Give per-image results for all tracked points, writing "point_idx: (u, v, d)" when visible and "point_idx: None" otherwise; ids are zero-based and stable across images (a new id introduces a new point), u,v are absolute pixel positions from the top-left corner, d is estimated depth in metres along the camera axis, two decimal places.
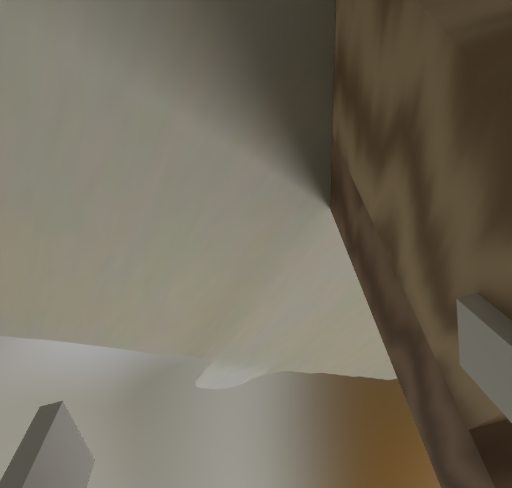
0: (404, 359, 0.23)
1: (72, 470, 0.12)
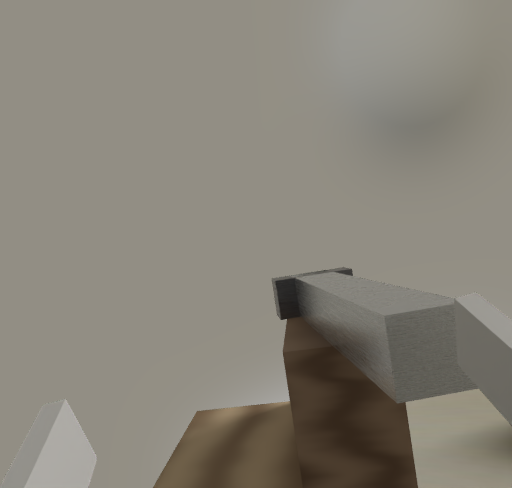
0: None
1: (75, 468, 0.12)
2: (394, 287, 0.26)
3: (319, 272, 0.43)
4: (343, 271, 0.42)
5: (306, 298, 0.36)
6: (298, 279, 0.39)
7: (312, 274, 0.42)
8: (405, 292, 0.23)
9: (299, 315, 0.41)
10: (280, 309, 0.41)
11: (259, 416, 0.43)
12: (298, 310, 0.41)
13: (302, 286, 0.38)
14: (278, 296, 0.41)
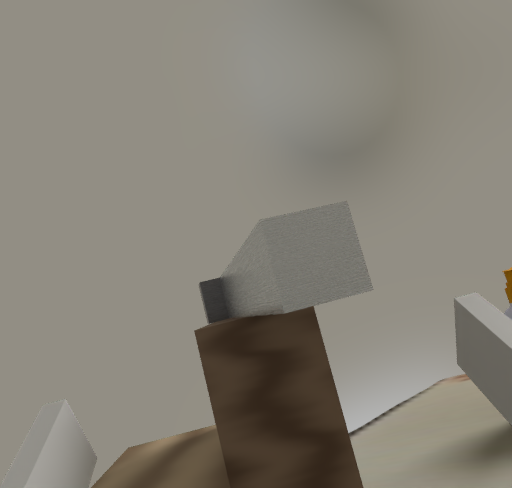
0: None
1: (75, 468, 0.12)
2: None
3: None
4: None
5: (228, 289, 0.34)
6: (221, 275, 0.37)
7: None
8: None
9: (228, 317, 0.39)
10: (207, 312, 0.38)
11: (196, 438, 0.38)
12: (227, 311, 0.39)
13: (224, 279, 0.36)
14: (204, 298, 0.39)
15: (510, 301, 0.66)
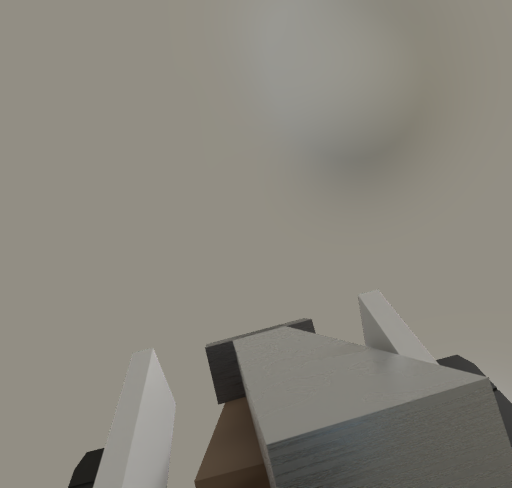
0: None
1: (164, 407, 0.14)
2: (345, 346, 0.14)
3: (269, 329, 0.31)
4: (300, 324, 0.30)
5: (240, 371, 0.24)
6: (233, 342, 0.27)
7: (258, 333, 0.30)
8: (357, 357, 0.12)
9: (244, 394, 0.29)
10: (216, 389, 0.29)
11: None
12: (242, 387, 0.29)
13: None
14: (211, 370, 0.29)
15: None
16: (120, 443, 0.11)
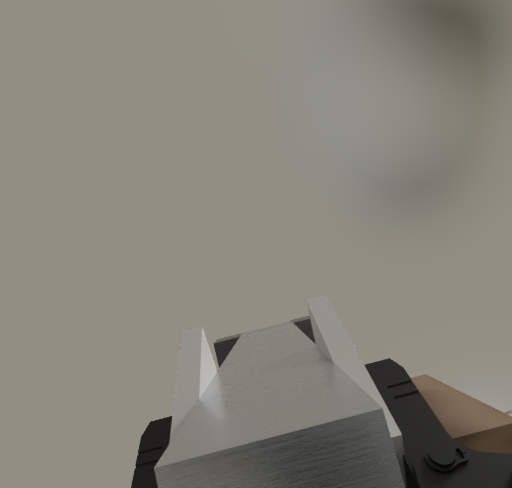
0: None
1: None
2: (313, 354, 0.14)
3: (278, 325, 0.31)
4: (308, 321, 0.30)
5: None
6: (238, 339, 0.28)
7: (266, 329, 0.30)
8: (309, 369, 0.12)
9: None
10: None
11: None
12: None
13: None
14: (220, 365, 0.29)
15: None
16: (187, 410, 0.11)
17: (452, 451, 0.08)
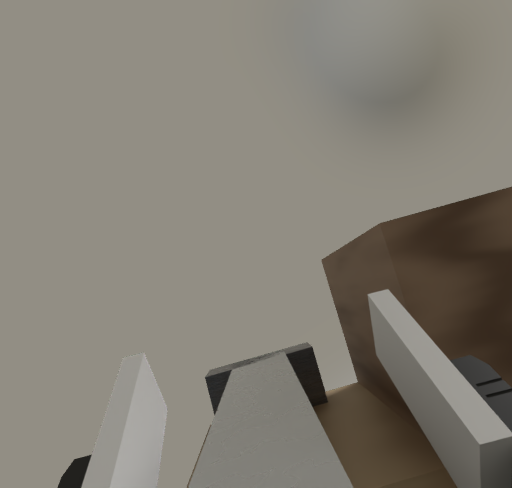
0: None
1: (155, 413, 0.14)
2: (306, 419, 0.14)
3: (270, 355, 0.31)
4: (300, 351, 0.29)
5: None
6: (230, 374, 0.27)
7: (258, 361, 0.30)
8: (303, 448, 0.11)
9: None
10: None
11: None
12: None
13: None
14: (212, 399, 0.29)
15: None
16: (107, 450, 0.11)
17: None
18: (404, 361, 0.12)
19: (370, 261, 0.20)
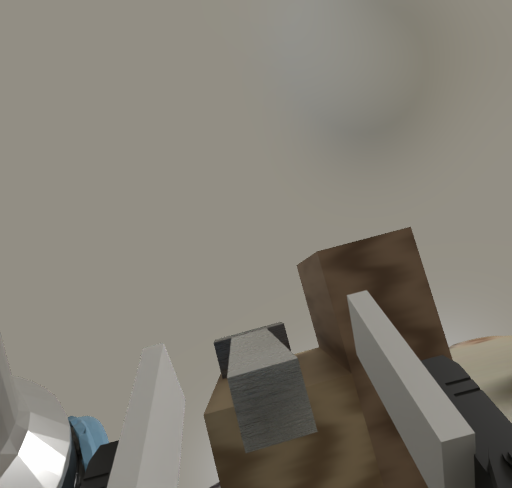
0: None
1: (175, 402, 0.14)
2: (277, 345, 0.29)
3: (256, 329, 0.46)
4: (276, 326, 0.45)
5: None
6: (231, 339, 0.43)
7: (248, 332, 0.45)
8: (275, 350, 0.27)
9: None
10: (221, 369, 0.44)
11: None
12: None
13: None
14: (218, 357, 0.44)
15: None
16: (134, 435, 0.11)
17: None
18: (378, 361, 0.12)
19: (316, 270, 0.36)
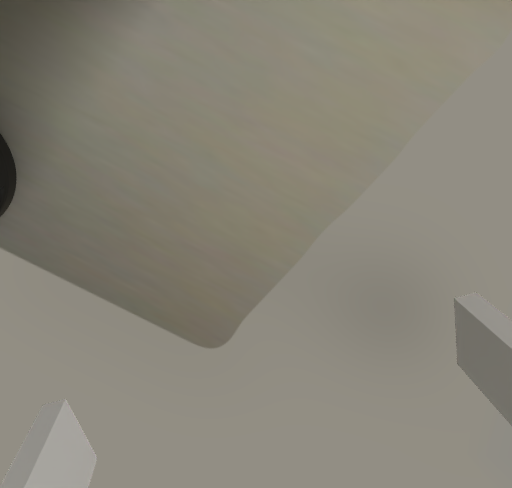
0: None
1: (75, 468, 0.12)
2: None
3: None
4: None
5: None
6: None
7: None
8: None
9: None
10: None
11: None
12: None
13: None
14: None
15: None
16: None
17: None
18: None
19: None
